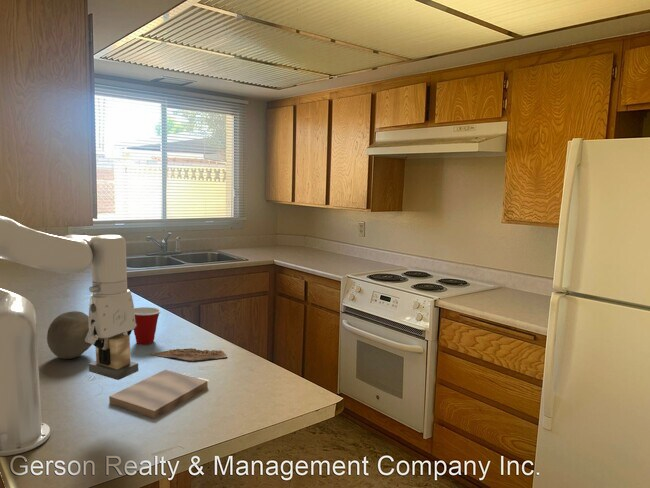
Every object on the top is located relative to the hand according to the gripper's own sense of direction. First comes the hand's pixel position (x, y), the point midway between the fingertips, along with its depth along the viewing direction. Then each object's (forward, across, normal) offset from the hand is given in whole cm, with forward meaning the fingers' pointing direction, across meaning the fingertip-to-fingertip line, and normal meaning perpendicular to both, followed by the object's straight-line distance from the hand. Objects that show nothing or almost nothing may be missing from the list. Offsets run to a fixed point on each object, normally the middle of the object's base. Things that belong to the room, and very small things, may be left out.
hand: (113, 360), depth 117 cm
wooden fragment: (+16, +41, +13) cm, 46 cm away
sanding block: (+3, 0, 0) cm, 3 cm away
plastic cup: (+16, +43, +35) cm, 58 cm away
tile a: (+16, +27, -3) cm, 32 cm away
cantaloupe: (+16, +21, +44) cm, 51 cm away
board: (+15, +15, 0) cm, 21 cm away
